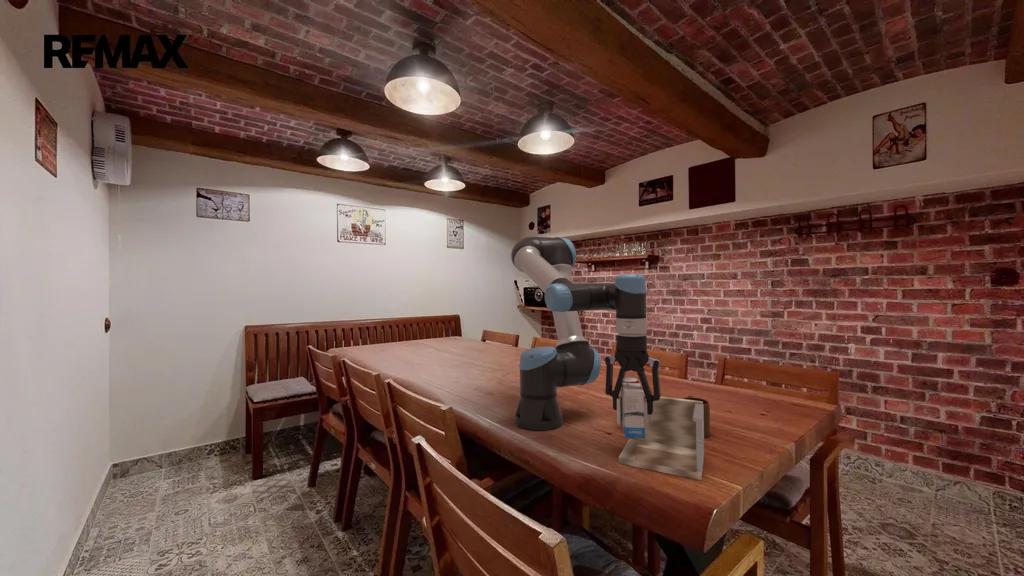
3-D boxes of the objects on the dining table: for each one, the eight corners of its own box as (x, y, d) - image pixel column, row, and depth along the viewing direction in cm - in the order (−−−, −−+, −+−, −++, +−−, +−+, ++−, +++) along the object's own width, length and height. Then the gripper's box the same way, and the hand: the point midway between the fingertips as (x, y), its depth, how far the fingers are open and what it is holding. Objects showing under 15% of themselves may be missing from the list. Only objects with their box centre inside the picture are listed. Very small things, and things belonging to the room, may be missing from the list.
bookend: (693, 470, 85) (692, 417, 85) (696, 449, 96) (695, 402, 96) (702, 471, 84) (701, 418, 84) (704, 451, 95) (703, 403, 95)
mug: (676, 422, 119) (676, 392, 119) (702, 424, 117) (702, 393, 117) (683, 437, 108) (683, 403, 108) (713, 439, 106) (712, 405, 106)
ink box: (645, 439, 92) (644, 391, 92) (624, 437, 94) (623, 390, 94) (641, 426, 101) (640, 382, 101) (621, 425, 102) (621, 381, 102)
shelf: (618, 463, 92) (618, 407, 92) (630, 441, 105) (629, 392, 105) (701, 480, 84) (700, 419, 83) (703, 454, 96) (702, 401, 96)
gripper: (590, 334, 99) (592, 423, 98) (669, 337, 90) (671, 435, 89) (598, 331, 105) (600, 415, 105) (672, 334, 96) (674, 425, 96)
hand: (632, 424), depth 97 cm, fingers closed on ink box, 6 cm apart
